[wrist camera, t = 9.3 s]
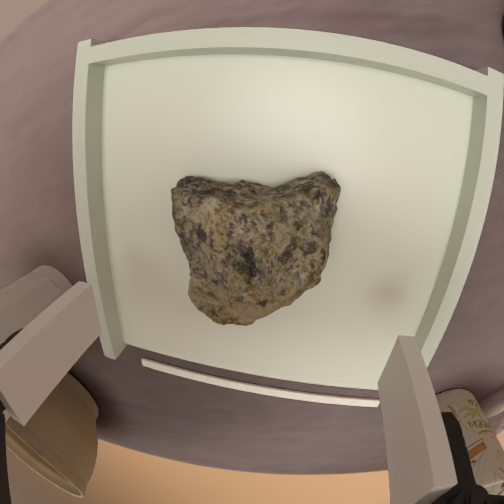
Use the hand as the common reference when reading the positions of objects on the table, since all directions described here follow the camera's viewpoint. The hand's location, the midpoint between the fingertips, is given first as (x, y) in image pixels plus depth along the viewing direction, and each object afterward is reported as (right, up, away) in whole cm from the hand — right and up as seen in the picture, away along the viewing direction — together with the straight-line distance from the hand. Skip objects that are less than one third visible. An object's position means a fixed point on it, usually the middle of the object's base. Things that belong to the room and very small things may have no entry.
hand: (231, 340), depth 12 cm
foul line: (+1, -7, +10) cm, 12 cm away
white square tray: (+2, +4, +5) cm, 7 cm away
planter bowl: (-21, -13, +17) cm, 30 cm away
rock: (+1, +5, +4) cm, 6 cm away
